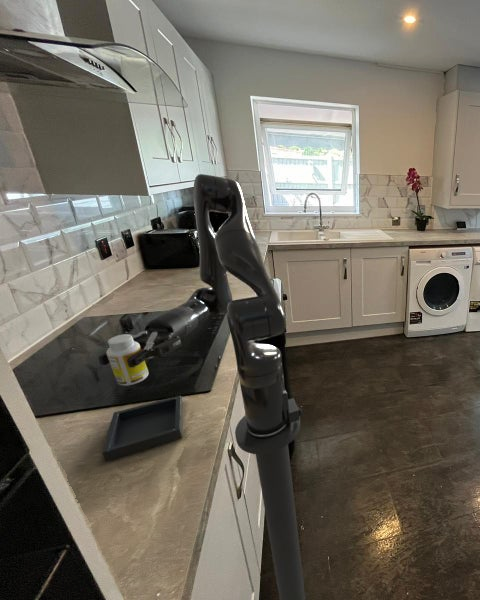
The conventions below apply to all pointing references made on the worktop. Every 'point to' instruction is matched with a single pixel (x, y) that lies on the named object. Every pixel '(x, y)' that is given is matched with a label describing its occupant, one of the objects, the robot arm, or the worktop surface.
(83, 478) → the worktop surface
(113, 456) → the shallow tray
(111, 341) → the supplement bottle
